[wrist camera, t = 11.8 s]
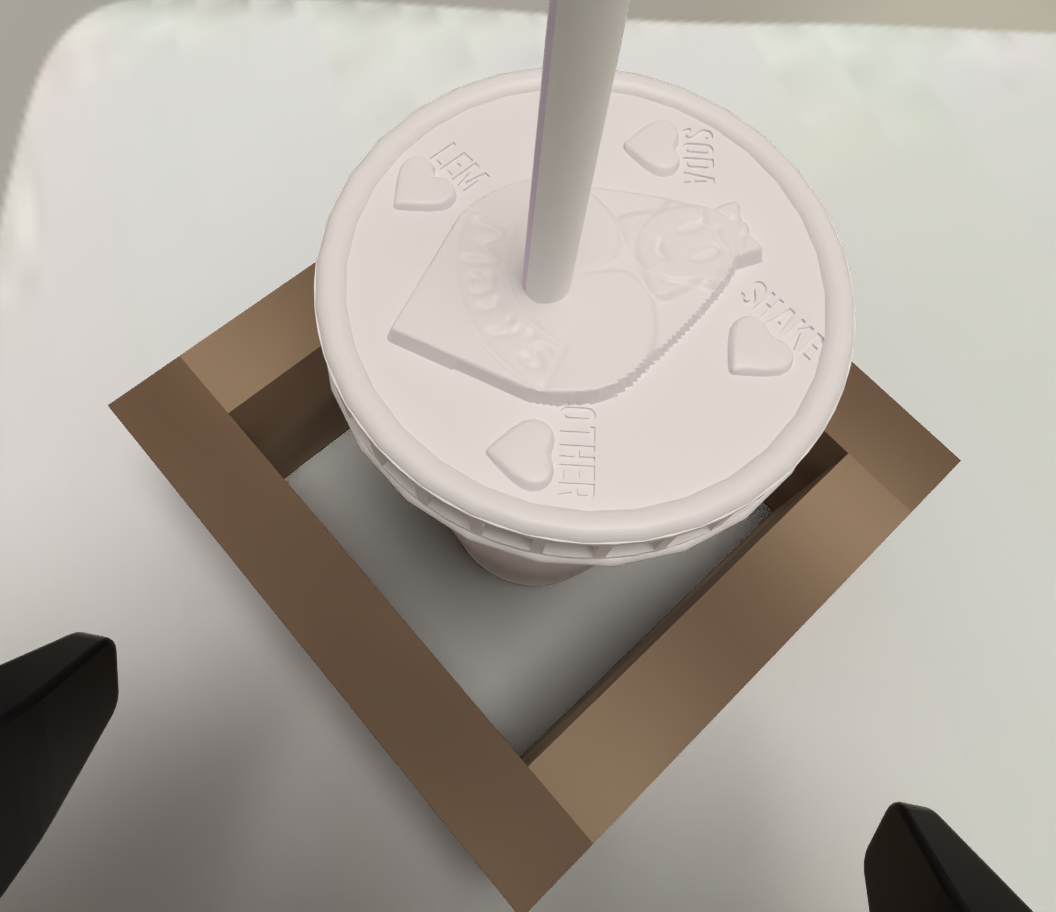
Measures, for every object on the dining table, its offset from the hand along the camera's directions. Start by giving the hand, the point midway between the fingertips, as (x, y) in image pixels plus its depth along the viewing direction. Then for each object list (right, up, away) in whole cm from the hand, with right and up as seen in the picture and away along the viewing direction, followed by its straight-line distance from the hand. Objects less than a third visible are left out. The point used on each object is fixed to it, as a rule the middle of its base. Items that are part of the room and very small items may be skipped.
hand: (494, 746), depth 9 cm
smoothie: (+1, +2, +9) cm, 10 cm away
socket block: (0, +2, +9) cm, 10 cm away
